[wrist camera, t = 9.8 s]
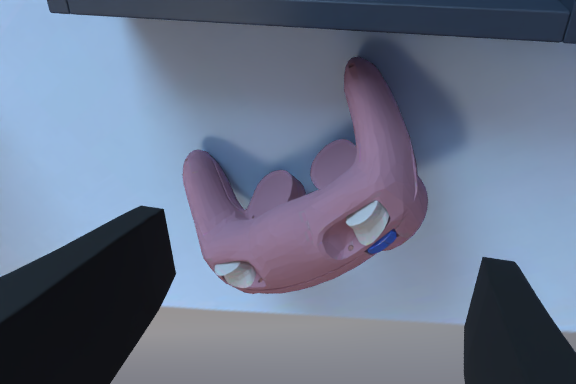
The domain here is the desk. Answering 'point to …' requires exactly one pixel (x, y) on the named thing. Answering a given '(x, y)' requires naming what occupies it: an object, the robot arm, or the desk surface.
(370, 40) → the desk surface
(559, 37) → the bin
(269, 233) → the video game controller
